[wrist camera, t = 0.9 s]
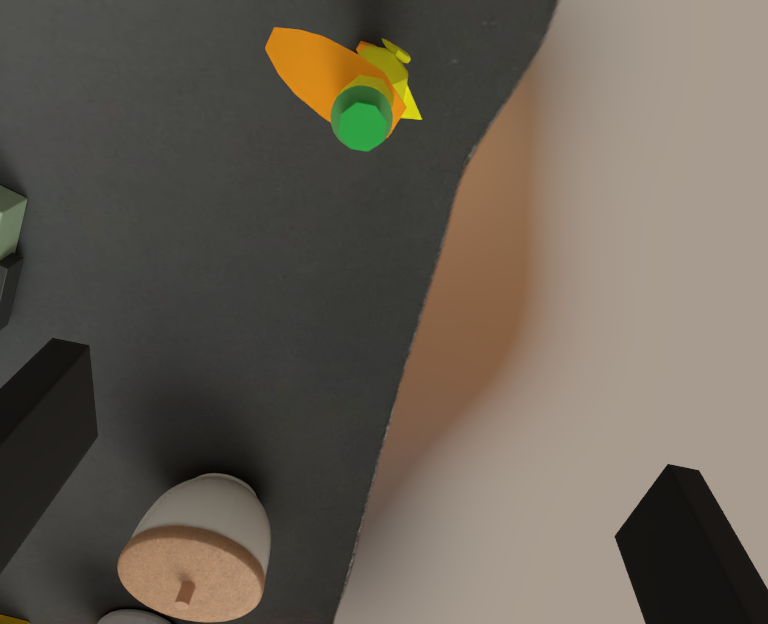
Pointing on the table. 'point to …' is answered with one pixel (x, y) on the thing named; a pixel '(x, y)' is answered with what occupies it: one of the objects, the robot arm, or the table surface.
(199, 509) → the trinket box
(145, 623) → the mug
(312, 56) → the toy figure
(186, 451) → the table surface
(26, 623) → the alarm clock
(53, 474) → the robot arm
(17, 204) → the kitchen scale
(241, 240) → the table surface
